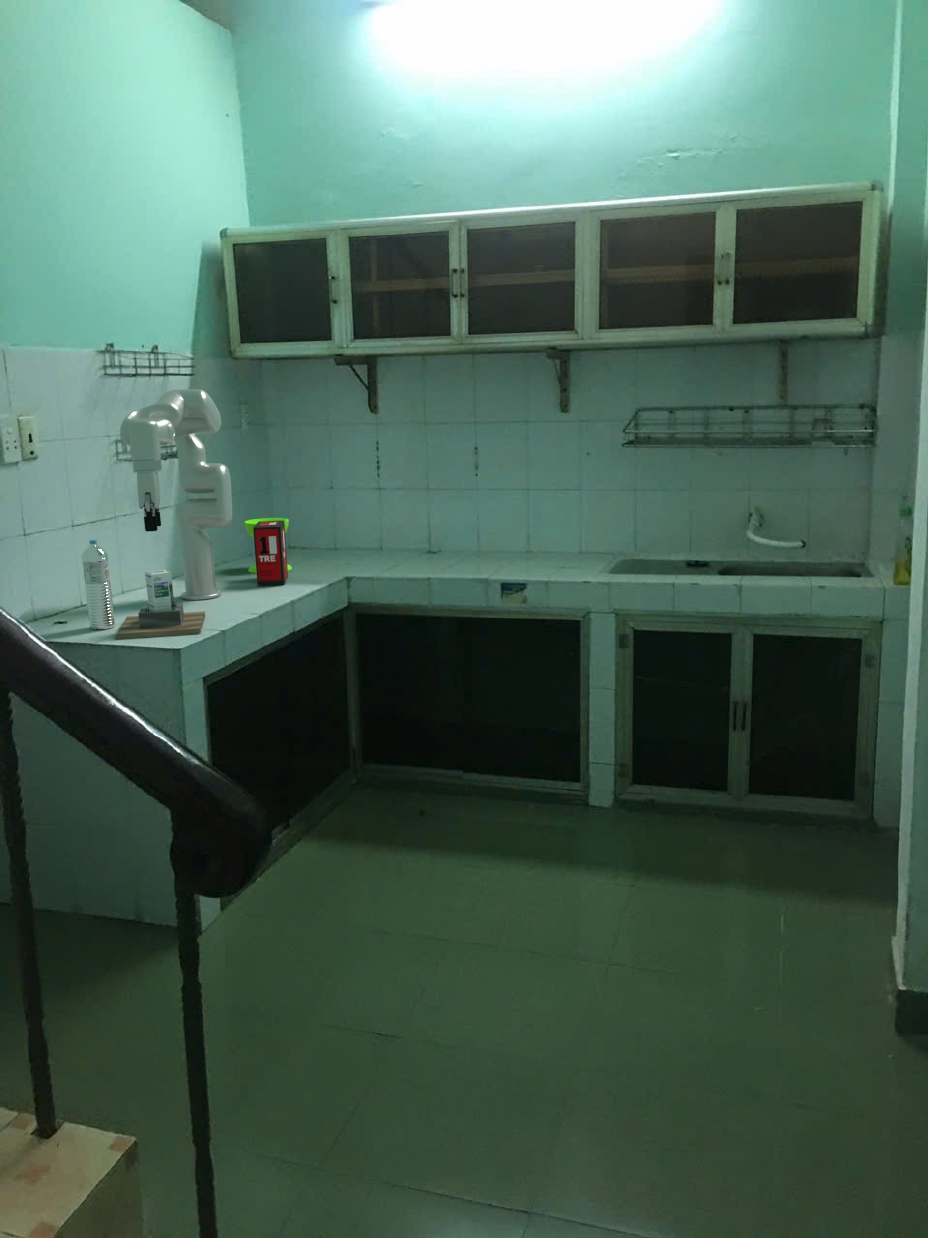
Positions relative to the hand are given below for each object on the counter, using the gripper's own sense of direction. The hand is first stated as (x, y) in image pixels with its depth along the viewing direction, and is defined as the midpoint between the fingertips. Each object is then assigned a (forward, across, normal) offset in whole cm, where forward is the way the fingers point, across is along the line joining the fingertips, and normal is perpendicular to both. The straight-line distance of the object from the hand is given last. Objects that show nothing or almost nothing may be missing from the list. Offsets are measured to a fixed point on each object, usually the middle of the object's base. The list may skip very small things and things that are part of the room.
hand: (153, 528), depth 277 cm
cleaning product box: (+29, -61, +31) cm, 74 cm away
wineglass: (+29, -86, +30) cm, 95 cm away
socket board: (+28, 0, 0) cm, 28 cm away
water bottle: (+28, -5, -17) cm, 33 cm away
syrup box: (+27, 0, 0) cm, 27 cm away
